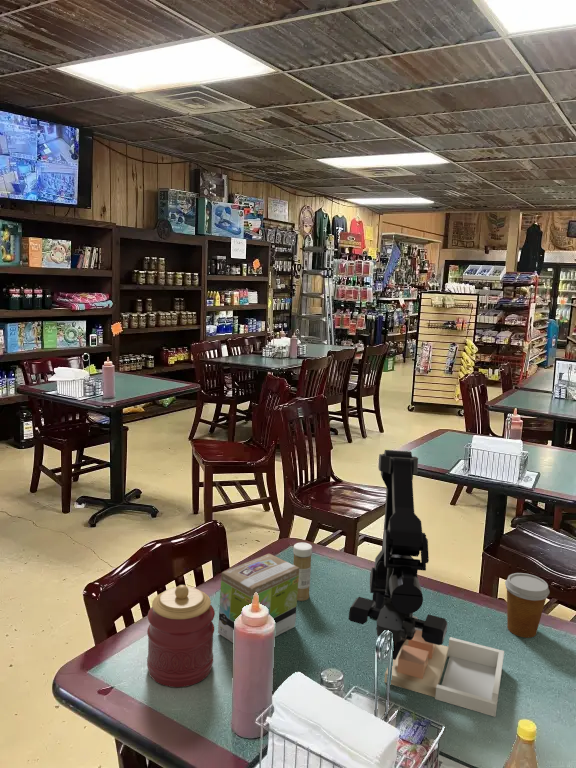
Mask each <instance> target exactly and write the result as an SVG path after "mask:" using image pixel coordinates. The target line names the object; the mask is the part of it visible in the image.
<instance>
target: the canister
mask: <svg viewBox="0 0 576 768" xmlns="http://www.w3.org/2000/svg"><path fill="white" fill-rule="evenodd" d="M211 601H212V600H211V598H210V597H209V595H208V594H207V593H205V592H204V591H202V590H199V589H198V588H195V587H192V586H188V585H185V584H179V585H178V586H173V587H170V588H169V589H168V588H167V589H166V590H164V591H163V592H161V593H159V594H157V595H156V596H155V597H154V598H153V600H152V602H151V603H152V604H151V607H150V608H149V610H148V613H147V621H148V622H149V625H148V628H147V637H148V639H147V641H148V643H147V657H146V661H147V663H146V666H147V669H148V670H147V671H148V674H149V676H150V678H151V679H152V680H153V681H154V682H156V683H158V684H159V685H163V686H166V687H171V688H183V687H189V686H192V685H196V684H198V683H200V682H202V681H203V680H204V679H206V678H207V677H208V675H209V674H210V673H211V671H212V668H213V663H214V652H213V650H214V647H213V646H214V633H215V625H214V622H213V620H214V619H215V614H216V613H215V612H216V611H215V608H214V606H212V602H211Z"/></svg>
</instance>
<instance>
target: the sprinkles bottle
mask: <svg viewBox="0 0 576 768" xmlns="http://www.w3.org/2000/svg"><path fill="white" fill-rule="evenodd" d="M292 553H293V562H292V563H293V564H292V565H295V566H297V567H299V581H298V594H297V602H298V601H299V602H304V601H307V600H308V599H309V598H310V586H311V574H312V573H311V572H312V571H311V570H312V554H313V546H312V544H310V543H307V542H296V543H294V545H293V552H292Z"/></svg>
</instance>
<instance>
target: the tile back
mask: <svg viewBox="0 0 576 768" xmlns="http://www.w3.org/2000/svg"><path fill="white" fill-rule="evenodd" d="M408 646H410V647H414V648H418V649H421V650H425V651H429V653H428V658H430V659H432V657H433V654H434V651H435V648H436V644H433V643H429V642H425V640H424V639H423V638H422V631H420V630H416V632H415V634H414V637H413V639H412V640H409V642H408Z"/></svg>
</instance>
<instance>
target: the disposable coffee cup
mask: <svg viewBox="0 0 576 768" xmlns="http://www.w3.org/2000/svg"><path fill="white" fill-rule="evenodd" d="M504 585H505V589H506V606H507V607H506V615H507V618H506V619H507V620H506V621H507V622H506V624H507V630H508V631H509V632H510V633H512V634H513V635H515V636H517V637H520V638H525V639H526V638H530V639H531V638H533V637H535V636H536V635H537V632H538V628H539V625H540V622H541V619H542V615H543V612H544V608H545V605H546V600H547V598H548V596H550V593H551V592H550V591H551V590H550V589H549V584H548V583H547V581H545V580H544V579H542V578H540V577H539V576H536V575H534V574H531V573H530V574H529V573H523V572H515V573H511V574H509V575H508V576H507V579H506V580H505V582H504Z"/></svg>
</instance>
